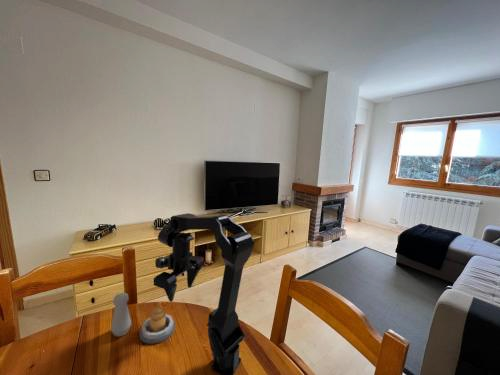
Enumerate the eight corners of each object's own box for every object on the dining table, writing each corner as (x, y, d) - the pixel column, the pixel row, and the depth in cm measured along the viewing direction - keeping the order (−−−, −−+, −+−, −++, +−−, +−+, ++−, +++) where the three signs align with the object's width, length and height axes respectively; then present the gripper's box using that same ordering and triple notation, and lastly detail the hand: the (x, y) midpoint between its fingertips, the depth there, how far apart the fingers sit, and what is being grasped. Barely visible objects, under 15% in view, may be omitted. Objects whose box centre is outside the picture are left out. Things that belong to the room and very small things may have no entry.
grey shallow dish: (181, 325, 75) (182, 319, 75) (156, 349, 65) (156, 342, 65) (158, 315, 79) (159, 308, 79) (132, 335, 69) (131, 328, 69)
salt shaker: (135, 326, 73) (134, 291, 72) (123, 340, 68) (123, 302, 66) (119, 324, 74) (118, 289, 73) (106, 337, 68) (105, 299, 67)
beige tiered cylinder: (168, 325, 73) (168, 307, 73) (157, 335, 69) (157, 316, 68) (158, 320, 75) (158, 302, 75) (146, 330, 71) (146, 311, 70)
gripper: (181, 238, 84) (180, 275, 86) (140, 255, 67) (140, 302, 69) (204, 243, 80) (203, 283, 81) (167, 263, 63) (167, 313, 64)
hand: (180, 293), depth 74 cm, fingers open, 9 cm apart
